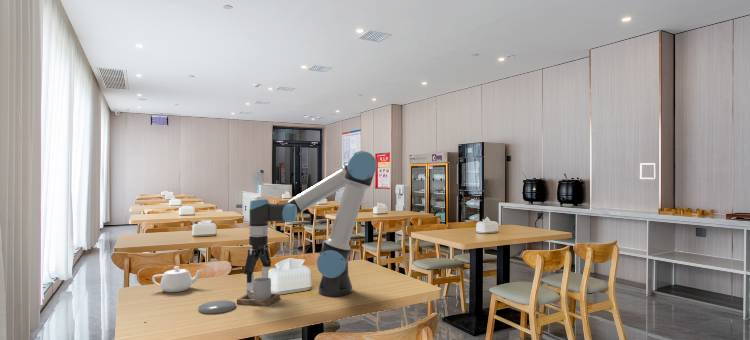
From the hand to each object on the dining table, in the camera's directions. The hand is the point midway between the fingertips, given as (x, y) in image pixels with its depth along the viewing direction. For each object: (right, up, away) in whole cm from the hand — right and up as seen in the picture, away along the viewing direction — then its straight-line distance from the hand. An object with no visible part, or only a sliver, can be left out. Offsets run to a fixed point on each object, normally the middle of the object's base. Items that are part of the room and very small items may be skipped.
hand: (257, 285), depth 181 cm
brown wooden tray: (0, -6, 0) cm, 6 cm away
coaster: (-14, -6, -10) cm, 18 cm away
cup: (0, -7, 0) cm, 7 cm away
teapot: (-42, -7, +18) cm, 46 cm away
